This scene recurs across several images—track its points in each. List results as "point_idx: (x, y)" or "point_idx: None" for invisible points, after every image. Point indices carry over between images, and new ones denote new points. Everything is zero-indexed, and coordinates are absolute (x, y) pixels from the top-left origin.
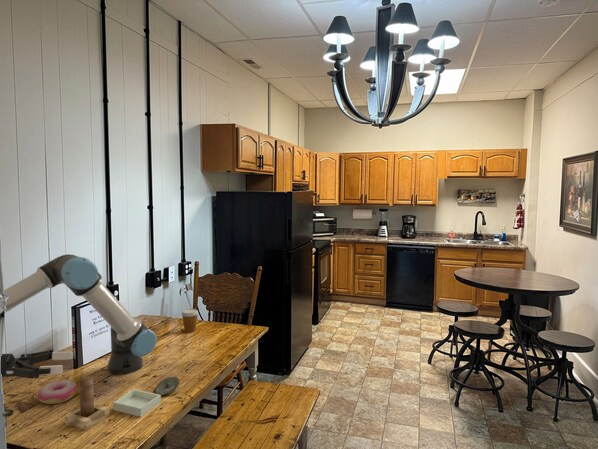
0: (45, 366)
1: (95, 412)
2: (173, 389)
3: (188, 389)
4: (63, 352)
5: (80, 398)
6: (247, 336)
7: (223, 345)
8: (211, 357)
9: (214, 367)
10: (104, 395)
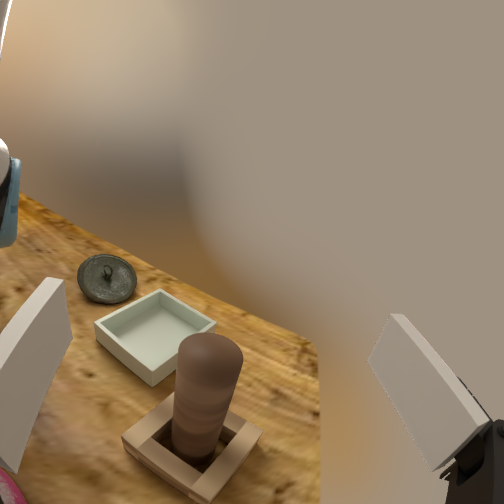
0: (462, 392)
1: None
2: (134, 273)
3: None
4: (30, 327)
5: (216, 423)
6: None
7: None
8: (26, 222)
9: (65, 228)
10: None
